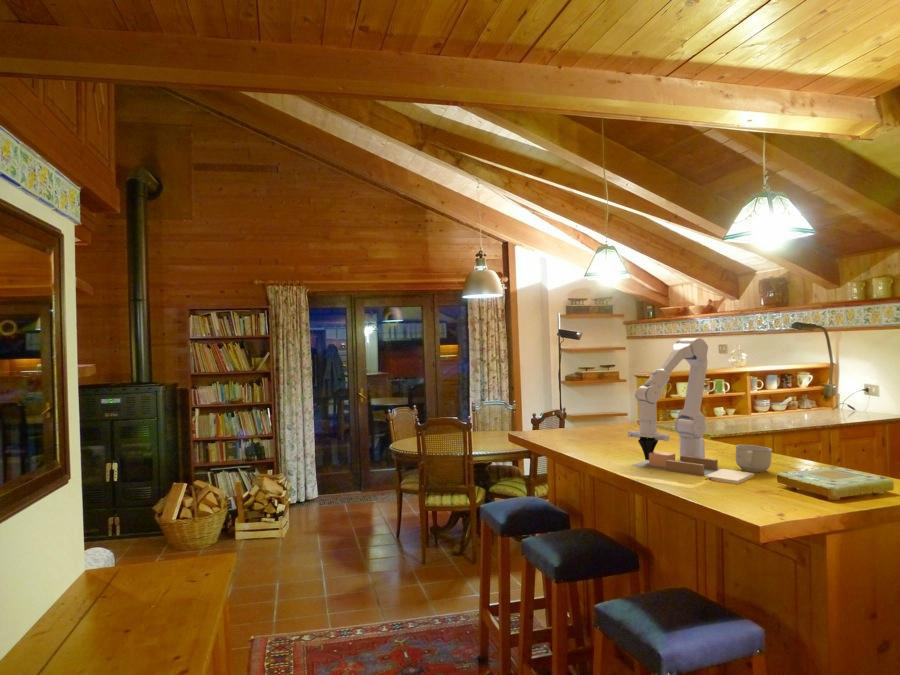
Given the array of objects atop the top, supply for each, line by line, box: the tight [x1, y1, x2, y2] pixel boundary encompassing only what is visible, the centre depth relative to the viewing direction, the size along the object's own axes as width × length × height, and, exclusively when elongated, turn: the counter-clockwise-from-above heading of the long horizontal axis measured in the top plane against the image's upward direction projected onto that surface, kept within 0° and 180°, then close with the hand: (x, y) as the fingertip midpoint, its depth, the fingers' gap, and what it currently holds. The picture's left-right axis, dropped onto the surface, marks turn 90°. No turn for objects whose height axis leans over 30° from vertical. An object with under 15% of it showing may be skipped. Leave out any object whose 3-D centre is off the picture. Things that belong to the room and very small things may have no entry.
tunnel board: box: [631, 455, 755, 485], centre depth 203 cm, size 14×35×4 cm, turn 45°
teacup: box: [735, 444, 773, 473], centre depth 203 cm, size 14×11×8 cm
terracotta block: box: [649, 450, 676, 467], centre depth 210 cm, size 5×7×4 cm
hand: (648, 459), depth 214 cm, fingers closed
